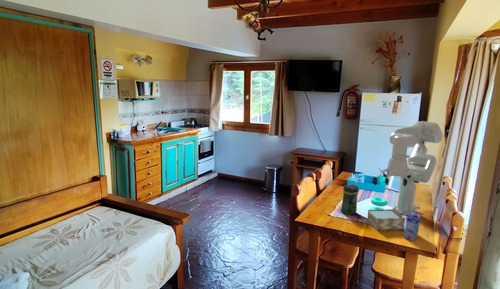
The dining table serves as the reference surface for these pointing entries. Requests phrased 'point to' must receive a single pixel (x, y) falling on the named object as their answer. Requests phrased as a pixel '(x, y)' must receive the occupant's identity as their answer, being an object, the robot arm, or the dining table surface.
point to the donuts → (378, 203)
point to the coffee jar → (350, 199)
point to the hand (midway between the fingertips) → (395, 184)
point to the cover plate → (386, 214)
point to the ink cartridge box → (412, 226)
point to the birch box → (386, 222)
